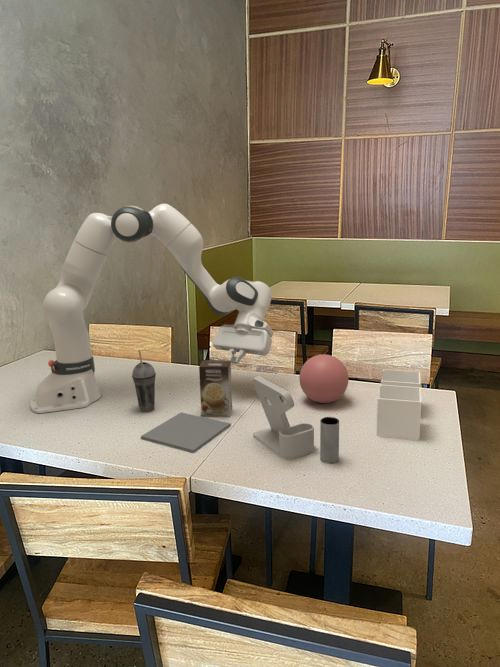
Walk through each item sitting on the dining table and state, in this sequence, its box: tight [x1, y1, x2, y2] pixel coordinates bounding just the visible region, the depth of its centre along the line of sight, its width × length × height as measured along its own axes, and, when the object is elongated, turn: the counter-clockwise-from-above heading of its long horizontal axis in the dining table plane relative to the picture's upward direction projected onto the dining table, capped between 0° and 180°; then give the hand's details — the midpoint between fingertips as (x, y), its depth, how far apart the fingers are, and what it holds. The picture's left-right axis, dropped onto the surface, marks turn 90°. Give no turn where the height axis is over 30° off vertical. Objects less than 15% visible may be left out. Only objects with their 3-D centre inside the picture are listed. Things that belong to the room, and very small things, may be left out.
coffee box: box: [198, 359, 233, 418], centre depth 150 cm, size 9×6×16 cm
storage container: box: [376, 368, 422, 441], centre depth 142 cm, size 25×11×11 cm, turn 162°
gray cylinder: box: [319, 416, 340, 464], centre depth 120 cm, size 4×4×10 cm
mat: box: [140, 412, 232, 454], centre depth 139 cm, size 18×18×1 cm
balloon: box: [298, 353, 349, 404], centre depth 158 cm, size 15×20×15 cm
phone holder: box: [252, 375, 317, 461], centre depth 129 cm, size 17×10×18 cm, turn 30°
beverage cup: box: [131, 349, 157, 413], centre depth 153 cm, size 7×7×20 cm
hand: (233, 362), depth 157 cm, fingers closed
